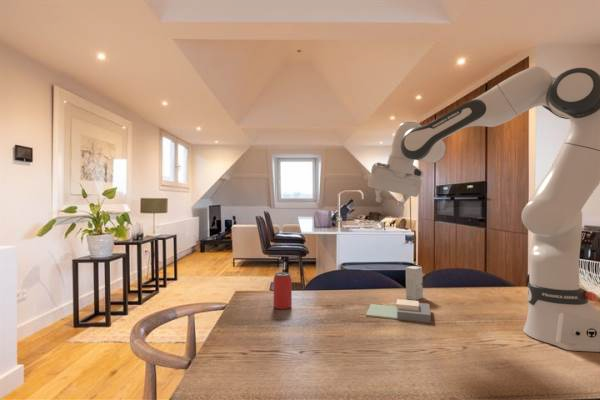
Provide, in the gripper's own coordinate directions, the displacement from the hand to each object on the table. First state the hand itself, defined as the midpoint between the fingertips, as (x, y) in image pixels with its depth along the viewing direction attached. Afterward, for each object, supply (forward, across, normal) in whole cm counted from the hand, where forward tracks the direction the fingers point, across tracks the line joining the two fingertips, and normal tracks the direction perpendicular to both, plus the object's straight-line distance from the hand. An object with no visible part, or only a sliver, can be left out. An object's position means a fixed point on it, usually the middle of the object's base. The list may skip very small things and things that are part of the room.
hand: (389, 204), depth 120 cm
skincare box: (+34, +21, -1) cm, 40 cm away
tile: (+31, +6, -17) cm, 36 cm away
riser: (+33, +8, -18) cm, 39 cm away
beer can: (+45, -31, +2) cm, 54 cm away
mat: (+36, 0, -13) cm, 38 cm away
